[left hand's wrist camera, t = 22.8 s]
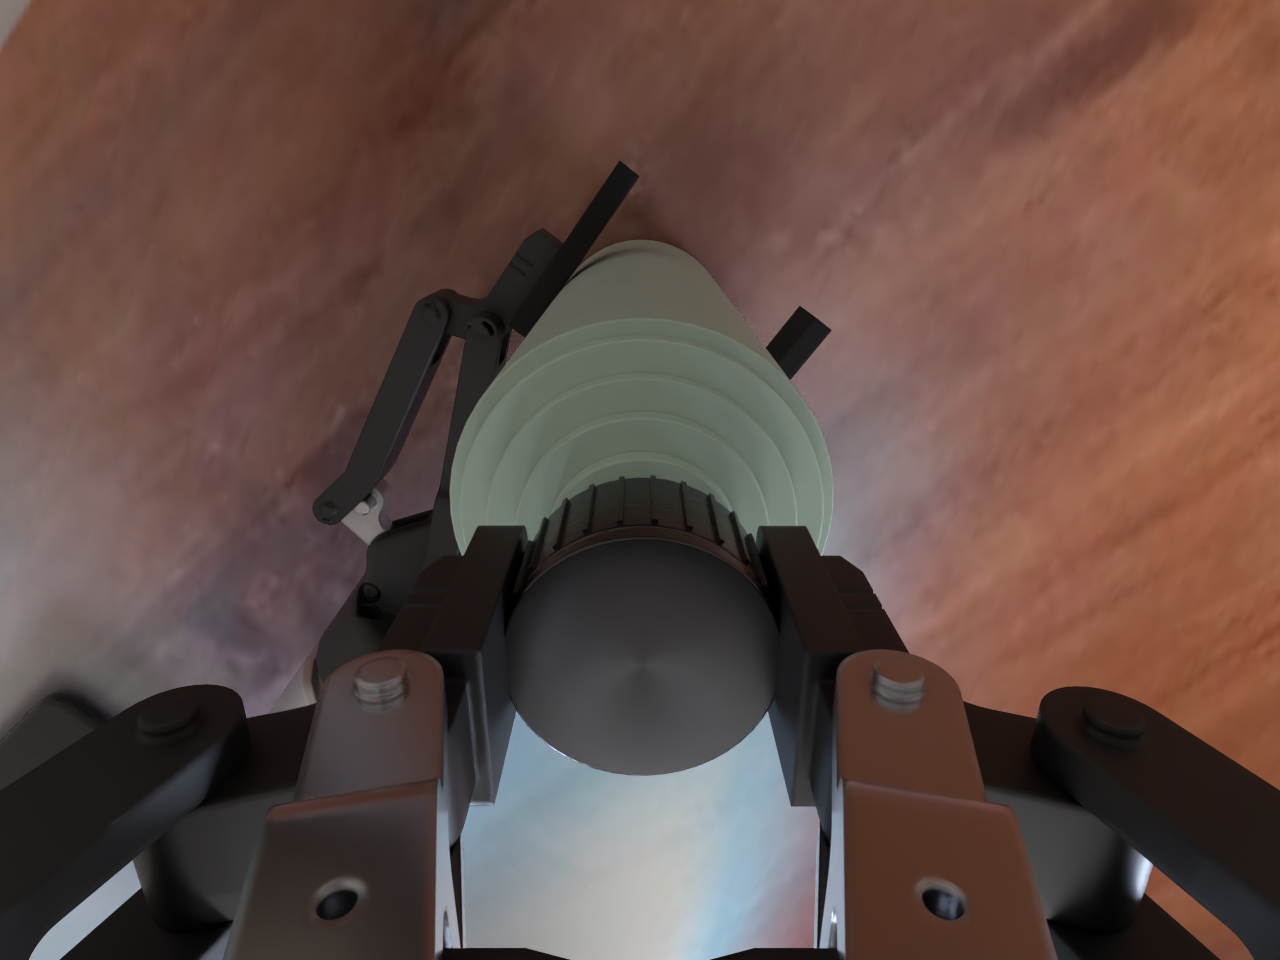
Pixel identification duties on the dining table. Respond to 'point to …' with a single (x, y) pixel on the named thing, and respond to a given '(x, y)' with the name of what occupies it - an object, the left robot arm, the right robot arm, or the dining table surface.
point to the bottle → (641, 404)
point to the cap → (642, 629)
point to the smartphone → (44, 735)
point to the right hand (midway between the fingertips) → (724, 246)
